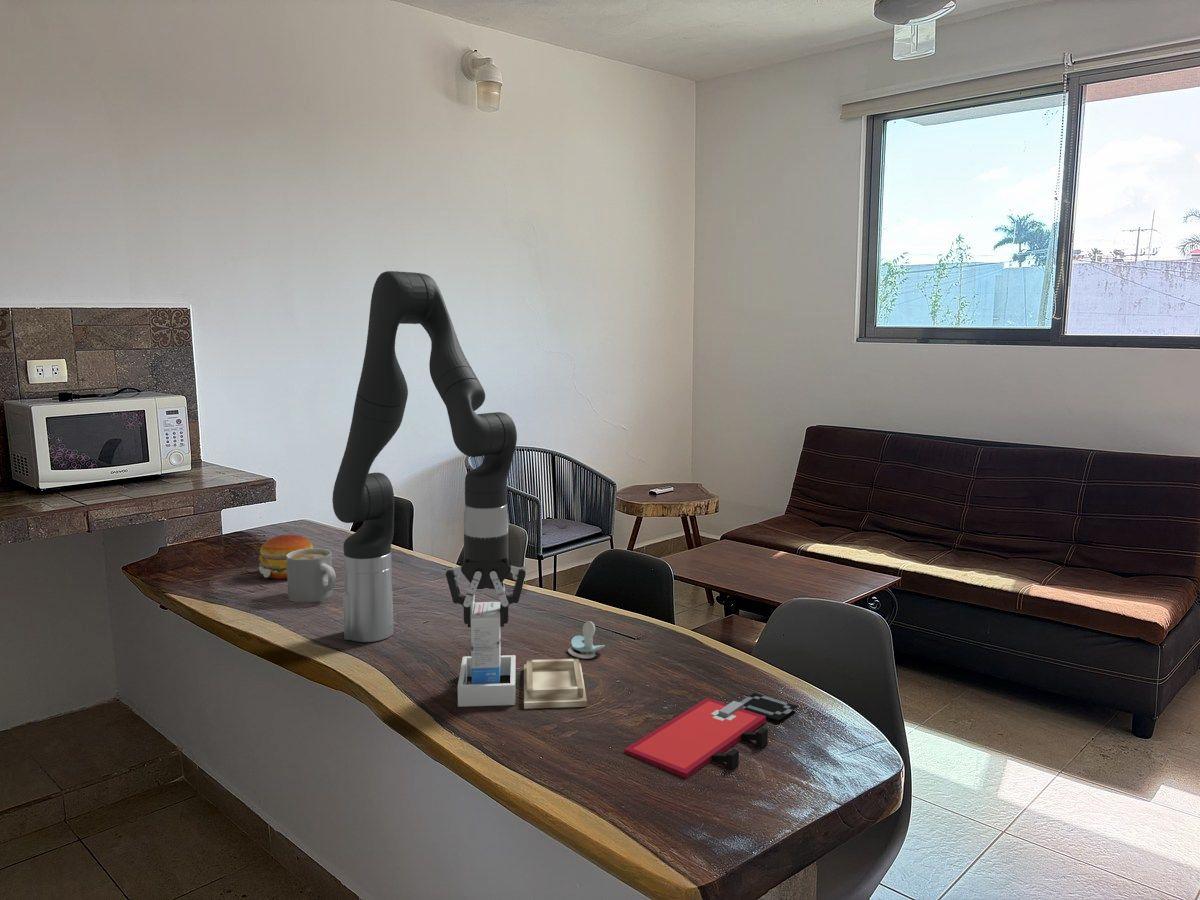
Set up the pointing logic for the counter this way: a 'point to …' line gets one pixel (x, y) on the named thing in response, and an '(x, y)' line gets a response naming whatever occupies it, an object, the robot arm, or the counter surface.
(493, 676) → the ink box
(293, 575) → the coffee mug
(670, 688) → the counter surface
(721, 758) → the red board with handle
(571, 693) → the tray
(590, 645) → the pacifier
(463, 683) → the box
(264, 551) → the burger
